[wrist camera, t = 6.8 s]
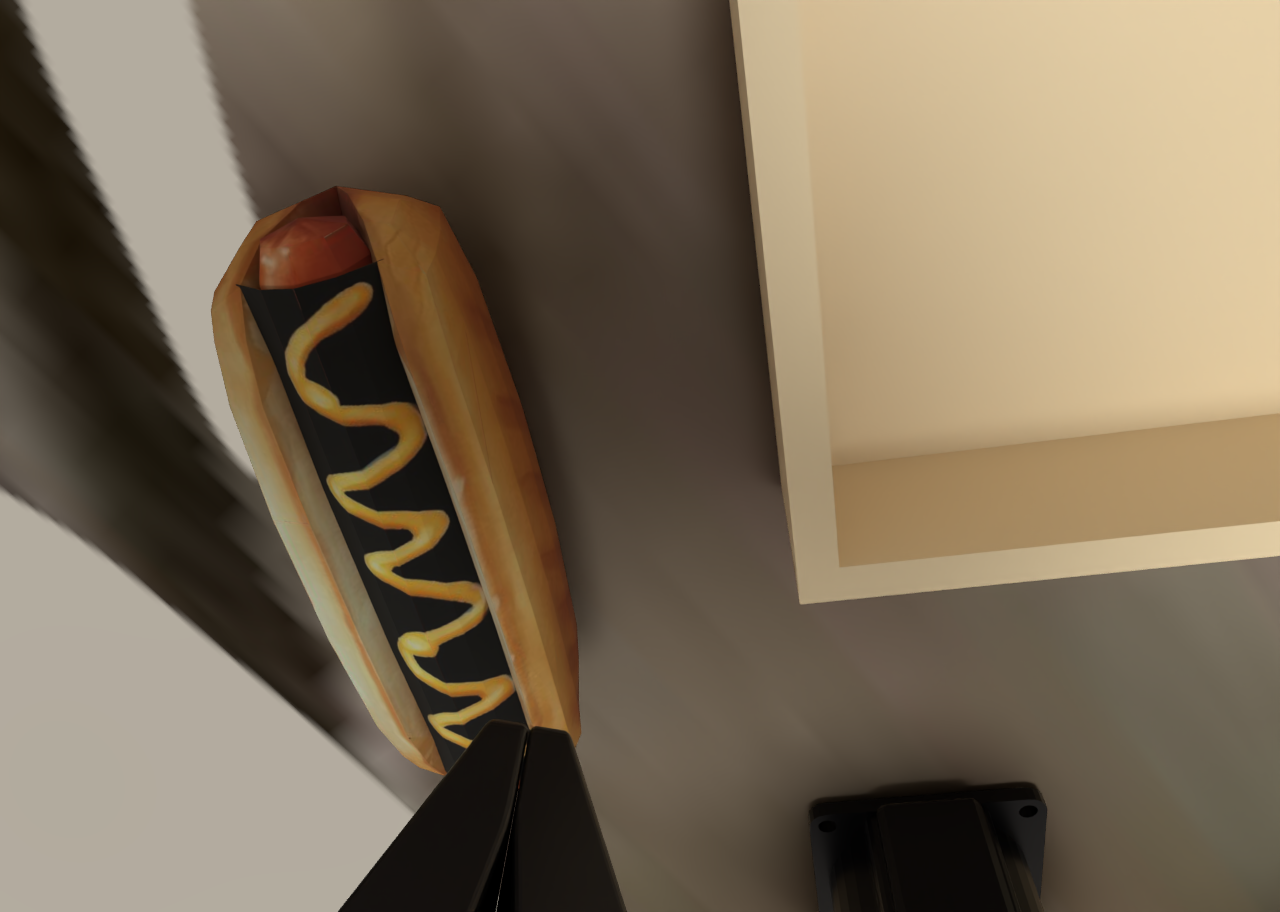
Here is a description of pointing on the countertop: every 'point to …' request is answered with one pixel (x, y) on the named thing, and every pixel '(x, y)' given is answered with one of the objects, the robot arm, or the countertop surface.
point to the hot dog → (400, 468)
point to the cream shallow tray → (1016, 284)
